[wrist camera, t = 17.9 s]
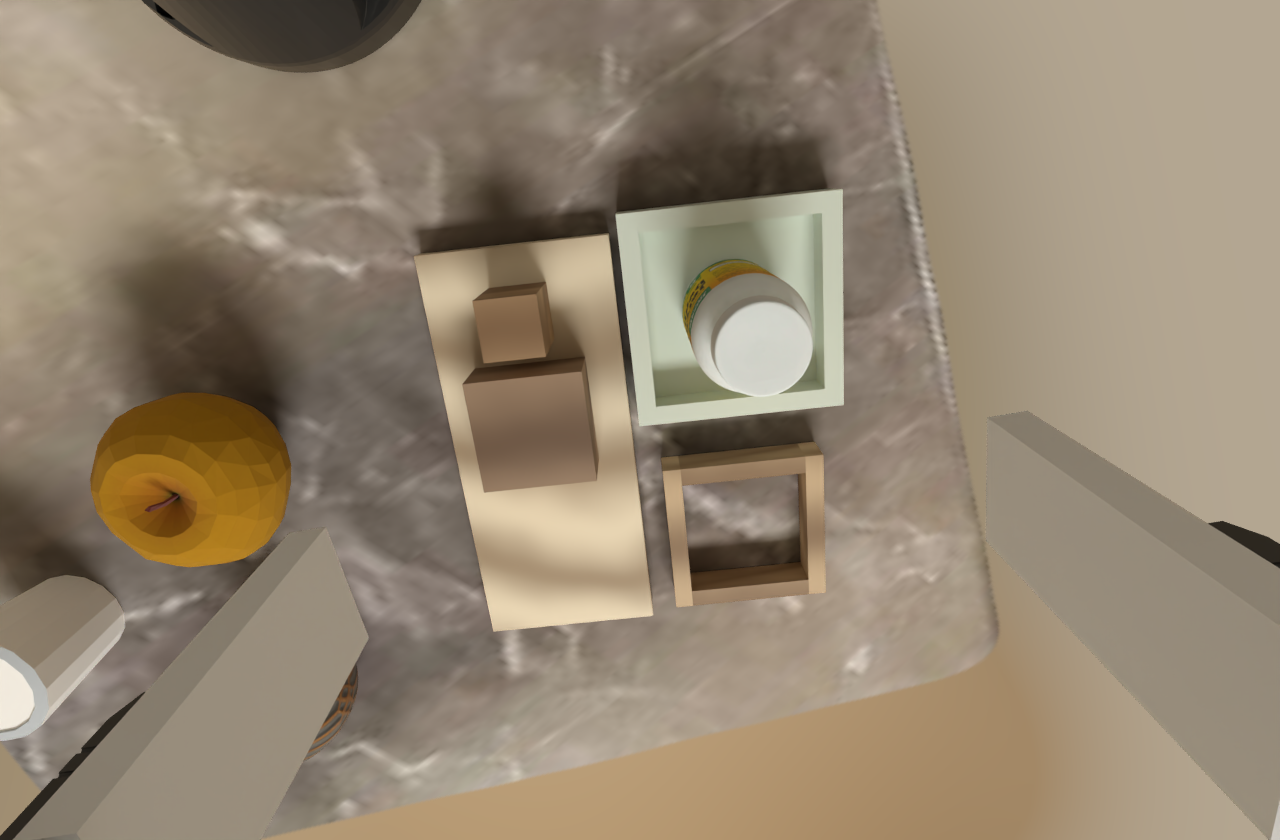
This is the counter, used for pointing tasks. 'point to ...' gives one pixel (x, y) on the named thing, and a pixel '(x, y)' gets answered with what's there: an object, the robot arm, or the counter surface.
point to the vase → (336, 714)
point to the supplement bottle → (747, 328)
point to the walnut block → (532, 424)
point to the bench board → (589, 327)
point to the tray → (699, 236)
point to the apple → (192, 479)
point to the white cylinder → (51, 647)
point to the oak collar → (760, 578)
